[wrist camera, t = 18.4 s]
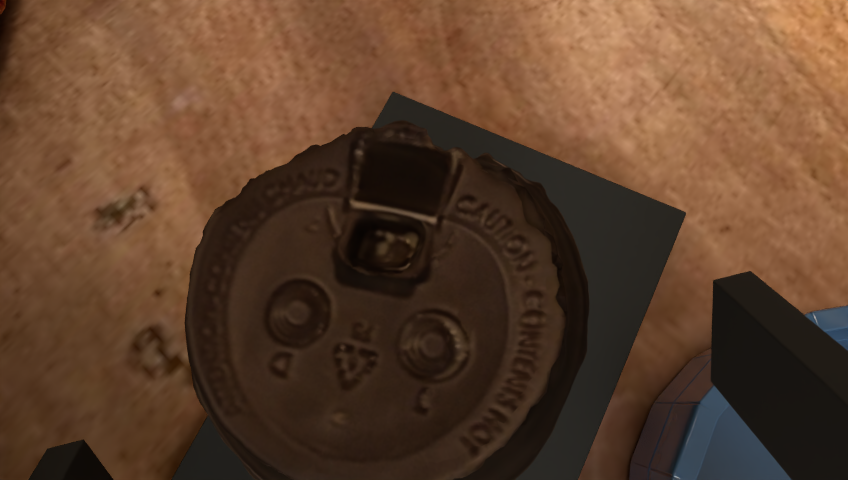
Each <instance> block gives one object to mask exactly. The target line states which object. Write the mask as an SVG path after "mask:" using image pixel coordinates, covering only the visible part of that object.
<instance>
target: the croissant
mask: <svg viewBox="0 0 848 480" xmlns="http://www.w3.org/2000/svg"><path fill="white" fill-rule="evenodd" d="M5 7H6V0H0V15H1V14H2V12H3V11H4V9H5Z"/></svg>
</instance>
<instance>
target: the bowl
mask: <svg viewBox="0 0 848 480" xmlns="http://www.w3.org/2000/svg"><path fill="white" fill-rule="evenodd" d="M804 315H805V316H806V317H807V318H809V319H810V320H811V321H812V322H813V323H815V324H816V325H817V326H818V327H820V328H821V329H822V330H823V331H824V332H826V333H827V334H828V335H829V336H831V337H832V338H833V339H834V340H835V341H837V342H838V343H839V344H840V345H842V346H843V347H844V348H845V349H846V350H848V305H846V306H840V307H834V308H828V309H822V310H816V311H811V312H807V313H804ZM654 403H655V404H653V405H652V408H651V410H650V413H649V415H648V418H647V420H646V423H645V426H644V428H643V431H642V433H641V436H640V438H639V441H638V444H637V446H636V449H635V451H634V454H633V456H632V459H631V463H630V478H629V480H791V478H790V477H789V476H788V475H787V473H786V472H785V471H784V470H783V469H782V467H781V466H780V465H779V464H778V463H777V461H776V460H775V459H774V458H773V456H772V455H771V454H770V453H769V452H768V450H767V449H766V448H765V447H764V445H763V444H762V443H761V442H760V441H759V439H758V438H757V437H756V436H755V435H754V433H753V432H752V431H751V430H750V428H749V427H748V426H747V425H746V424H745V422H744V421H743V420H742V419H741V418H740V416H739V415H738V414H737V413H736V411H735V410H734V409H733V408H732V407H731V405H730V404H729V403H728V402H727V400H726V399H725V398H724V397H723V396H722V394H721V393H720V392H719V391H718V390H717V388H716V387H715V386H714V385H713V383H712V382H711V348H710V349H708V350H706V351H704V352H703V353H701V354H699V355H697V356H695V357H694V358H693V359H691V360H690V361H689V363H688V364H687V365H686V366H685V367H684V368H683V370H682V371H681V372H680V373H679V374H678V375H677V376H676V378H675V379H674V380H673V381H672V382H671V383H670V384H669V386H668V387H667V388H666V389H665V390H664V391H663V392H662V394H661V395H660V396H659V397H658V398H657V399H656V401H655V402H654Z"/></svg>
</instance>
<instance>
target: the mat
mask: <svg viewBox="0 0 848 480" xmlns="http://www.w3.org/2000/svg"><path fill="white" fill-rule="evenodd" d="M400 120H405V121H408V122H410V123H413V124H415V125H417V126H419V127H421V128H426V129H427V132H428V136H429V137H430V138H431V140H432V143H433V145H436V146H438V147H441V148H442V149H443V150H444V151H445V150H449V149H451V148H453V147H459V148H462V149H463V150H464V151H465V152H466V153H467V154H468V155H469V156H470V157H472V158H473V159H475V158H477V157H479V156H480V155H482V154H483V153H489V154H490V155H491V156H492V157H493V158H494V159H495V160H496V161H498V162H500V163H502V164H504V165H506V166H508V167H509V168H511V169H513V170H515V171H518V172H520V173H521V174H522V176H523V177H524V178H525V179H528V180H530V181H534V182H539V183H541V184H542V186H543V187H544V189H545V190H546V194H547V196H548V198H549V200H550V201H551V202H552V203H553V204H554V205H555V206H556V207H557V208H558V209H559V211H560V213H561V214H562V216H563V217H564V220H565V222H566V224H567V226H568V228H569V230H570V231H571V233H572V235H573V237H574V240H575V243H576V245H577V247H578V250H579V253H580V257H581V260H582V264H583V267H584V270H585V274H586V276H587V279H588V291H589V306H590V308H589V317H588V335H587V353H586V356H585V359H584V361H583V363H582V365H581V367H580V369H579V371H578V373H577V375H576V378H575V380H574V382H573V385H572V387H571V390H570V393H569V395H568V398H567V400H566V402H565V404H564V407H563V409H562V411H561V413H560V415H559V418H558V420H557V423H556V426H555V428H554V430H553V432H552V434H551V435H550V437H549V439H548V440H547V442H546V443H545V445H544V446H543V448H542V450H541V451H540V453H539V454H538V456H537V457H536V459H535V460H534V461H533V463H532V464H531V465H530V466H529V467H528V469H527V470H525V471H524V472H523V473H522V474H521V475H520V476H519V477H518V478H516V479H515V480H578V478H579V475H580V473H581V470H582V468H583V466H584V463H585V461H586V458H587V456H588V453H589V451H590V448H591V446H592V443H593V441H594V439H595V436H596V434H597V431H598V429H599V426H600V424H601V421H602V419H603V416H604V414H605V412H606V409H607V407H608V404H609V402H610V399H611V397H612V394H613V392H614V390H615V387H616V385H617V382H618V380H619V377H620V375H621V372H622V370H623V367H624V365H625V363H626V360H627V358H628V355H629V353H630V350H631V348H632V345H633V343H634V340H635V338H636V336H637V333H638V331H639V328H640V326H641V323H642V321H643V318H644V316H645V313H646V311H647V309H648V306H649V304H650V301H651V299H652V296H653V294H654V291H655V289H656V287H657V284H658V282H659V279H660V277H661V274H662V272H663V269H664V267H665V264H666V262H667V260H668V257H669V255H670V252H671V250H672V247H673V245H674V242H675V240H676V237H677V235H678V233H679V230H680V228H681V225H682V223H683V220H684V218H685V215H686V212H684V211H681V210H679V209H676V208H674V207H672V206H669V205H667V204H664V203H662V202H659V201H657V200H655V199H652V198H650V197H647V196H645V195H642V194H640V193H638V192H635V191H633V190H630V189H628V188H625V187H623V186H621V185H618V184H616V183H613V182H611V181H608V180H606V179H604V178H601V177H599V176H596V175H594V174H591V173H589V172H587V171H584V170H582V169H579V168H577V167H574V166H572V165H570V164H567V163H565V162H562V161H560V160H557V159H555V158H553V157H550V156H548V155H545V154H543V153H541V152H538V151H536V150H533V149H531V148H528V147H526V146H524V145H521V144H519V143H516V142H514V141H511V140H509V139H507V138H504V137H502V136H499V135H497V134H494V133H492V132H490V131H487V130H485V129H482V128H480V127H477V126H475V125H473V124H470V123H468V122H465V121H463V120H460V119H458V118H456V117H453V116H451V115H448V114H446V113H443V112H441V111H439V110H436V109H434V108H431V107H429V106H426V105H424V104H422V103H419V102H417V101H414V100H412V99H410V98H407V97H405V96H402V95H400V94H397V93H395V92H392V94H391V96H390V97H389V99H388V101H387V103H386V104H385V106H384V108H383V110H382V112H381V113H380V115H379V117H378V119H377V120H376V122H375V124H374V126H373V127H372V129H375V128H381V127H383V126H385V125H387V124H389V123H392V122H394V121H400ZM171 480H255V479H254V478H253V477H252V476H251V475H250V474H249V473H248V471H247V470H246V468H245V467H244V465H243V463H242V462H241V460H240V459H239V458H238V457H237V455H236V454H235V453H234V452H233V451H232V450H231V449H230V448H229V447H228V446H227V445H226V444H225V442H224V441H223V440H222V438H221V437H220V435H219V434H218V432H217V430H216V428H215V427H214V425H213V423H212V421H211V420H210V418H209V416H207V418H206V420H205V422H204V423H203V425H202V427H201V429H200V430H199V432H198V434H197V436H196V437H195V439H194V441H193V443H192V444H191V446H190V448H189V450H188V451H187V453H186V455H185V457H184V458H183V460H182V462H181V464H180V465H179V467H178V469H177V471H176V472H175V474H174V476H173V478H172V479H171Z"/></svg>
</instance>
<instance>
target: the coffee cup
mask: <svg viewBox="0 0 848 480" xmlns="http://www.w3.org/2000/svg"><path fill="white" fill-rule="evenodd" d="M589 308H590V306H589V291H588V279H587V276H586V274H585V270H584V267H583V264H582V260H581V257H580V253H579V250H578V247H577V245H576V243H575V240H574V237H573V235H572V233H571V231H570V230H569V228H568V226H567V224H566V222H565V220H564V217H563V216H562V214H561V213H560V211H559V209H558V208H557V207H556V206H555V205H554V204H553V203H552V202H551V201H550V200H549V198H548V196H547V194H546V190H545V189H544V187H543V186H542V184H541V183H539V182H534V181H530V180H528V179H525V178H524V177H523V176H522V174H521V173H520V172H518V171H515V170H513V169H511V168H509V167H508V166H506V165H504V164H502V163H500V162H498V161H496V160H495V159H494V158H493V157H492V156H491V155H490V154H489V153H483V154H482V155H480V156H479V157H477V158H475V159H473V158H472V157H470V156H469V155H468V154H467V153H466V152H465V151H464V150H463V149H462V148H459V147H453V148H451V149H449V150H445V151H444V150H443V149H442V148H441V147H438V146H436V145H433V143H432V140H431V138H430V137H429V136H428V132H427V129H426V128H421V127H419V126H417V125H415V124H413V123H410V122H408V121H405V120H400V121H394V122H392V123H389V124H387V125H385V126H383V127H381V128H375V129H372V128H368V127H356V128H354V129H352V131H351V132H349V133H348V134H347V135H345V134H343V135H341V136H339V137H338V138H336V139H335V140H333V141H332V142H330V143H327V144H324V145H322V146H319V145H312V146H310V147H309V148H308V149H306V150H305V151H303V152H302V153H300V154H297V155H296V156H295V157H294V158H293V159H292V160H291V161H290V162H289V163H287V164H285V165H282V166H279V167H275V168H274V169H272V170H268V171H266V172H265V173H264V174H261V175H259V176H258V177H256V178H253V179H250V180H249V182H248V183H247V185H246V186H244V187H243V188H242V191H241V193H240V194H239V195H238V196H237V197H235V198H233V199H230V200H228V201H226V202H225V203H224V204H223V205H222V206H220V207H218V208H217V209H215V210H214V212H213V214H212V216H211V217H210V219H209V220H208V222H207V224H206V226H205V228H204V230H203V237H202V240H201V242H200V244H199V245H198V246H197V247H196V250H195V254H194V260H193V264H192V267H191V271H190V283H189V291H188V297H187V305H186V314H185V332H186V342H187V350H188V357H189V363H190V366H191V371H192V379H193V386H194V389H195V392H196V395H197V397H198V399H199V401H200V403H201V405H202V406H203V408H204V410H205V411H206V413H207V414H208V416H209V418H210V420H211V421H212V423H213V425H214V427H215V428H216V430H217V432H218V434H219V435H220V437H221V438H222V440H223V441H224V442H225V444H226V445H227V446H228V447H229V448H230V449H231V450H232V451H233V452H234V453H235V454H236V455H237V457H238V458H239V459H240V460H241V462H242V463H243V465H244V467H245V468H246V470H247V471H248V473H249V474H250V475H251V476H252V477H253V478H254V479H255V480H515V479H516V478H518V477H519V476H520V475H521V474H522V473H523V472H524V471H525V470H527V469H528V467H529V466H530V465H531V464H532V463H533V461H534V460H535V459H536V457H537V456H538V454H539V453H540V451H541V450H542V448H543V446H544V445H545V443H546V442H547V440H548V439H549V437H550V435H551V434H552V432H553V430H554V428H555V426H556V423H557V420H558V418H559V415H560V413H561V411H562V409H563V407H564V404H565V402H566V400H567V398H568V395H569V393H570V390H571V387H572V385H573V382H574V380H575V378H576V375H577V373H578V371H579V369H580V367H581V365H582V363H583V361H584V359H585V356H586V353H587V335H588V317H589Z"/></svg>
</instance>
